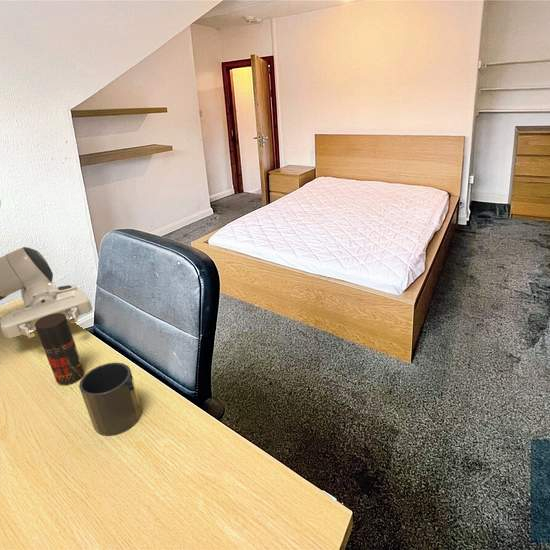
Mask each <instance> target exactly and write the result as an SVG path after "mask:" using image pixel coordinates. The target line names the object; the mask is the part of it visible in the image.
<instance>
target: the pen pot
mask: <svg viewBox="0 0 550 550" xmlns="http://www.w3.org/2000/svg"><path fill="white" fill-rule="evenodd" d="M78 388H79V390H80V393H81V396H82V399H83V402H84V405H85V407H86V410H87V413H88V416H89V420H90V421H91V425H92V426H93V429H94V431H95V432H96V433H97V434H99V435H101V436H106V437H111V436H116V435H120V434H124V433H125V432H126V431H129V430H130V429H132V428H133V427H134V426H135V425H136V424H137V423H138V422H139V420H140V419H141V416H142V406H141V404H140V403H141V402H140V398H139V395H138V392H137V389H136V384H135V381H134V378H133V374H132V370H131V368H130V367H129V365H127V364H125V363H123V362H108V363H104V364H101V365H98V366H96V367H94V368H92V369H91V370H89V371H88V372H86V373H85V374H84V376H83V377H82V378H81V379H80V380H79V385H78Z"/></svg>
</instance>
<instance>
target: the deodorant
mask: <svg viewBox="0 0 550 550" xmlns="http://www.w3.org/2000/svg"><path fill="white" fill-rule="evenodd" d="M35 327H36V330H35V331H36V332H37V335H38V338H39V340H40V343H41V345H42V348H43V351H44V354H45V356H46V358H47V360H48V363H49V366H50V368H51V371H52V374H53V376H54V379H55V381H56V383H57V385H58V386H70V385H73V384H75V383H77V382H80V381H81V379H82V378H83V377H84V375H85V374H86V373H85V369H84V366H83V363H82V360H81V357H80V354H79V352H78V349H77V345H76V343H75V340H74V337H73V334H72V331H71V328H70V325H69V323H68V319H66V316H65V315H64V314H61V313H55V314H50V315H47V316H44V317H42V318H41V319H39V320H38V321H37V322H36V323H35Z"/></svg>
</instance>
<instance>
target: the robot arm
mask: <svg viewBox="0 0 550 550" xmlns="http://www.w3.org/2000/svg"><path fill="white" fill-rule="evenodd" d="M1 204H2V203H1V200H0V207H1ZM53 276H54V274H53V271H52V269H51V267H50V265H49V264H48V261H47V260H46V259H45V257H44V256H43V254H41V252H39V251H38V250H37V249H35V248H31V247H27V246H23V247H20V248H18V249H15V250H13V251H11V252H8V253H6V254H4V255H3V256H1V257H0V301H2V300H3V299H6V298H7V297H8V296H10V295H12V294H14V293H16V292H18V291H20V295H21V298H22V301H23V306H24V307H23V308H20V309H17V310H13V311H10V312H7V313H5V314H4V315H3V316H2V318H0V328H1V331H2V333H3V336H4V338H6V339H12V338H15V337H19V336H22V335H23V336H26V337H27V338H28V339H31V338H34V337H36V333H35V331H37V330H36V327H35V323H36V322H37V321H38V320H39V319H41V318H42V317H44V316H47V315H50V314H55V313H61V314H64V315H65V316H66V319H67V320H69V322H70V324H75V323H78V318H79V317H80V316H82V315H85V314H88V313H90V312H92V310H93V306H92V303H91V300H90V297H89V296H88V295H87V294H86V293H85V291H83V290H80V289H78V287H77V285H76V284H69V285H68V284H67V285H61V286H57V285H56V283H55V282H54V281H53V280H54V279H53V278H54V277H53Z"/></svg>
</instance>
